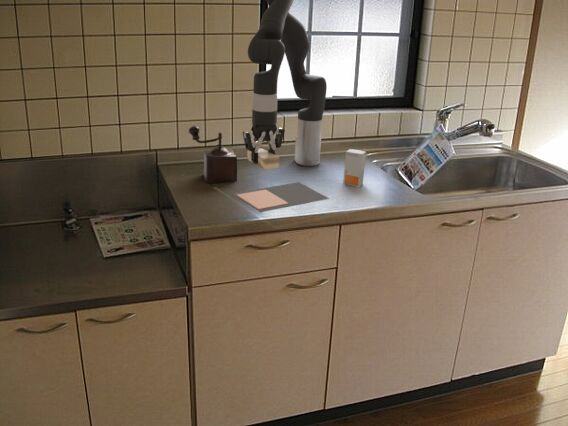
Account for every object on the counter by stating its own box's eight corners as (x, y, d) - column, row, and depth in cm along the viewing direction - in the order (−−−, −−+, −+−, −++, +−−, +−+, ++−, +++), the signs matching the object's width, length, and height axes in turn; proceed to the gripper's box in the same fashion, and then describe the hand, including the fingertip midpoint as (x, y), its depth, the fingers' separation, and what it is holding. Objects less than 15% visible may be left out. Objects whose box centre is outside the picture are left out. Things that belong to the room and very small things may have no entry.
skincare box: (342, 184, 211) (345, 151, 206) (347, 181, 214) (350, 148, 210) (358, 187, 208) (362, 154, 204) (363, 184, 212) (366, 151, 207)
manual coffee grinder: (231, 172, 218) (232, 123, 211) (237, 182, 208) (238, 131, 201) (188, 174, 214) (187, 124, 207) (192, 184, 204) (191, 132, 197)
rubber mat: (232, 195, 196) (232, 193, 196) (298, 183, 209) (298, 181, 209) (260, 213, 182) (260, 211, 182) (329, 200, 196) (329, 197, 195)
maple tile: (279, 167, 185) (279, 157, 183) (265, 169, 182) (265, 159, 181) (260, 157, 193) (261, 148, 192) (247, 159, 190) (247, 149, 189)
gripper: (250, 112, 174) (248, 168, 181) (291, 108, 182) (289, 162, 188) (237, 107, 180) (236, 162, 187) (278, 103, 188) (276, 156, 194)
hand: (263, 162), depth 187 cm, fingers closed on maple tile, 5 cm apart
